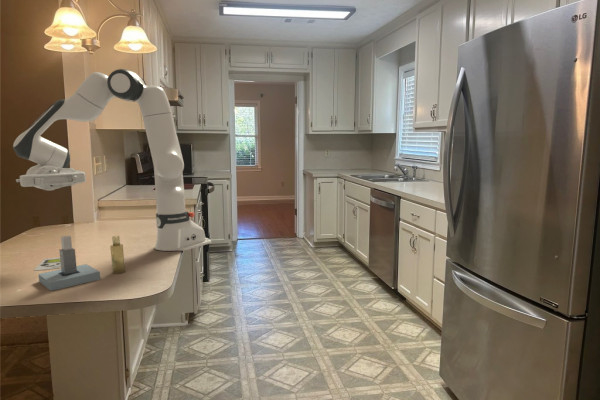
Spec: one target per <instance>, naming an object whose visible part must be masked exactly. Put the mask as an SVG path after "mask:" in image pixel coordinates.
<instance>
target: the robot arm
mask: <svg viewBox="0 0 600 400" xmlns="http://www.w3.org/2000/svg"><path fill="white" fill-rule="evenodd" d="M114 98H118V99H120V100H123V101H126V102H136V103H137V104H138V106H139V108H140V112H141V116H142V120H143V121H142V122H143V125H144V129H145V133H146V138H147V142H148V147H149V149H150V150H149V151H150V155H151V158H152V159H151V161H152V164H153V171H154V173H153V174H154V187H155V188H154V190H155V201H156V202H155V205H156V214H155V222H156V230H157V232H156V241H155V246H154V249H155V250H157V251H162V252H167V251H168V252H171V251H174V252H175V251H180V252H182V251H188V250H192V249H196V248H198V247H199V248H200V247H203V246H205V245H209V244H211V243H212V241H211V239H210V238H208V237H206V234H205V230H204V229H203V227H202V226H200V225H199V224H197V223H196V222H194V221H193V220H191V218H194V217H195V216H196V215H195V212H191V211H190V212H188V211H187V210H186V197H185V193H186V191H185V185H184V175H183V172H184V169H185V163H184V158H183V154H182V150H181V145H180V142H179V138H178V134H177V129H176V125H175V120H174V116H173V111H172V108H171V104H170V101H169V98H168V96H167V93H166V91H165V90H164V88H163V87H161V86H158V85H147V84H146V82H145V80H144V79H143V77H141V76H140V75H138V74H137V73H136V72H135V71H132V70H128V69H124V68H118V69H115V70H114V71H112V72H110V74H109V75H107V74H105V73H103V72H99V71H98V72H97V71H94V72H91V73H90V74H89V75H88V76H87V77H86V78H85V79H84V80H83V81H82V83H81V84H80V85H79V86H78V88H77V89H76V90H75V92H74V93H73V94H72V95H71V96H69V97H68V98H65V99H61V98H60V99H59V98H58V100H56V101H54V102H53V103H52V104H51V105H50V106H49V107H48V108H46V110H45V111H44V112H43V113H42V114H41V115H40V116H39V117H38V118H37V119H36V120H35V121H33V122H32V124H30V126H29V127H28V128H26V129H25V130H24V131H22V132H21V134H19V135H18V136H17V137H16V139H15V140H14V142H13V145H12V148H13V151H14V153H15V154H16V156H17V157H18V158H21V159H24V160H27V161H31V162H33V163H36V165H34V166H31V167H29V169H27V171H26V173H25V174H23V175H19V178H18V179H15V181H16V183H19V184H20V186H21V187H24V188H27V187H34V188H37V189H41V190H43V191H55V190H56V189H61V188H65V187H71V186H75V185H76V184H84V183H86V182H87V177H86V172H84V171H82V170H77V169H74V168H73V167H69V165H70V162H71V154H70V152H69V151H70V150H68V148H66V147H64V146H63V145H59V144H58V143H55V142H53V141H51V140H49V139H47V138H45V137H43V136H41V135H43V134H44V132H45V131H46V130H48V129H49V127H50V126H51V125H53V124H54V122H56V121H59V120H69V121H76V122H86V123H87V122H92V121H94V120H96V119H97V118H99V116H100V115H101V114H102V112H103V111H104V110H105V109H106V107H107V105H108V104H109V103H110V101H111V100H112V99H114Z"/></svg>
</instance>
